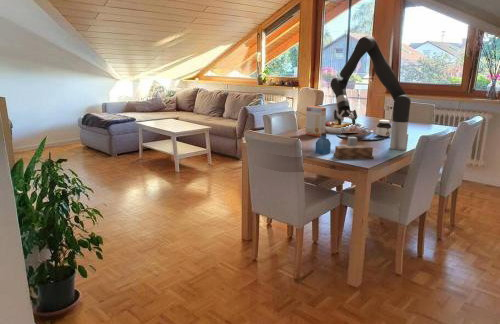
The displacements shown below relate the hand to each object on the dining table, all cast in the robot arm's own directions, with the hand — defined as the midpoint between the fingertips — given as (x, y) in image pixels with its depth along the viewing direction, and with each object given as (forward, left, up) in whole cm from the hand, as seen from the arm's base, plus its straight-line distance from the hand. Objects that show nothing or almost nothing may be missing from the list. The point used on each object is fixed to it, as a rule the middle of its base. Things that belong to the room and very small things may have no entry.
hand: (347, 124), depth 242 cm
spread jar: (-39, -35, -15) cm, 54 cm away
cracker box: (+10, -40, -15) cm, 44 cm away
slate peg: (0, +11, -15) cm, 19 cm away
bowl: (-14, -56, -15) cm, 59 cm away
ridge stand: (+3, +23, -15) cm, 28 cm away
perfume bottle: (+18, +12, -15) cm, 27 cm away
